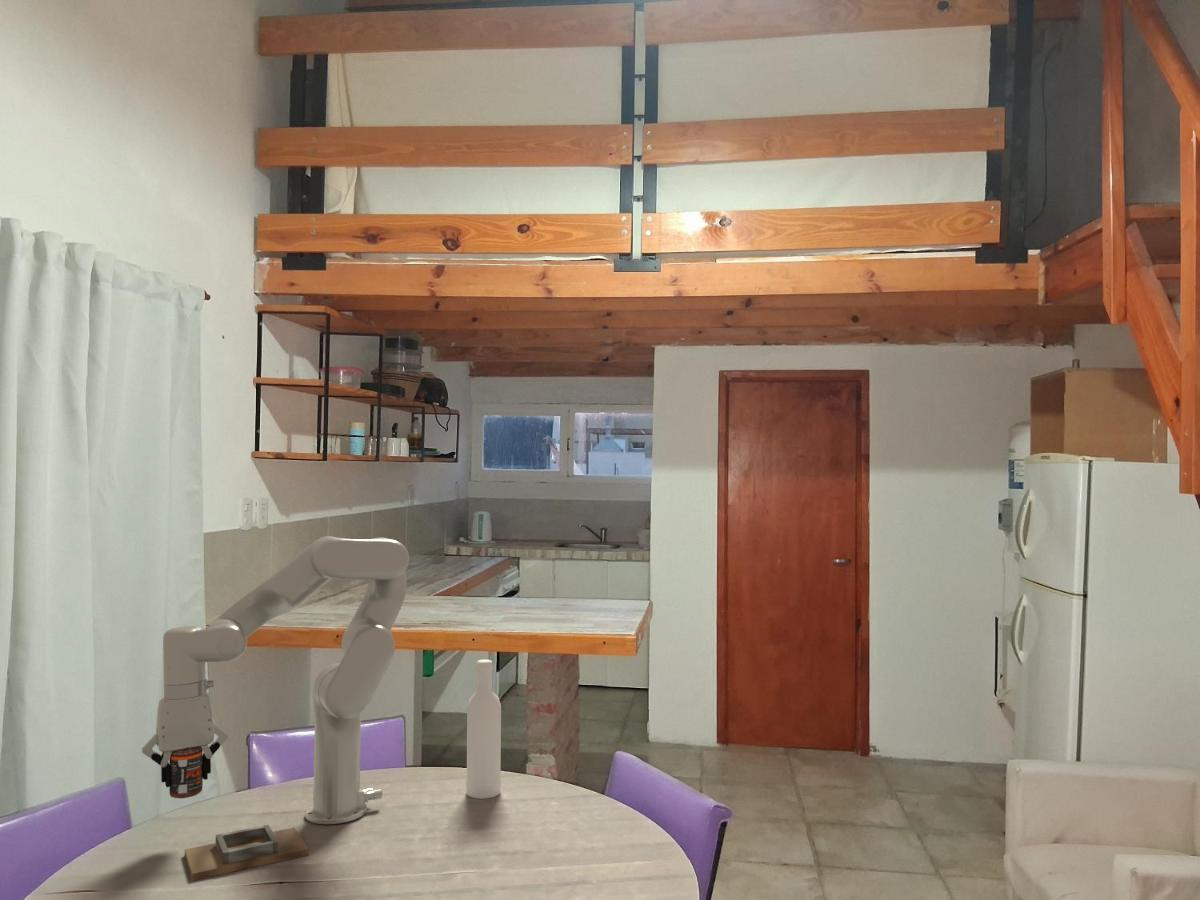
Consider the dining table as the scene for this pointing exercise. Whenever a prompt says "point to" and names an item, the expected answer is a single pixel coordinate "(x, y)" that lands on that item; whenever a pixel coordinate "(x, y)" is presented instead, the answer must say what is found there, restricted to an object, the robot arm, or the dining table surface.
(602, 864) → the dining table surface
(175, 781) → the supplement bottle
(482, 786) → the bottle
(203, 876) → the cap board
